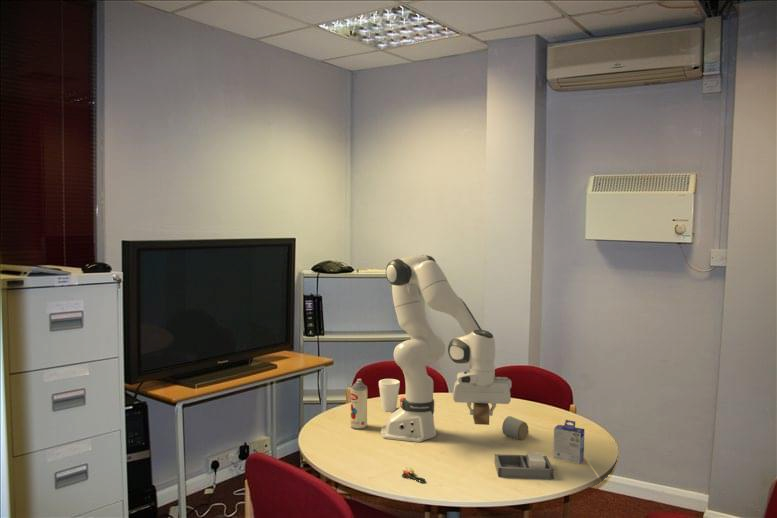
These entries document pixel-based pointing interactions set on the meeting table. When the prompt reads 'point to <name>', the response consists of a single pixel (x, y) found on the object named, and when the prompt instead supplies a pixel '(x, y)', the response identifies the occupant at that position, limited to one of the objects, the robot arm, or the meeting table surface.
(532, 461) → the off-white block
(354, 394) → the aerosol can
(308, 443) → the meeting table surface
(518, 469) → the holder
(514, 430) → the ceramic mug
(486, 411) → the walnut block
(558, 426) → the ink cartridge box
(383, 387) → the foam cup
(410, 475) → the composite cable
